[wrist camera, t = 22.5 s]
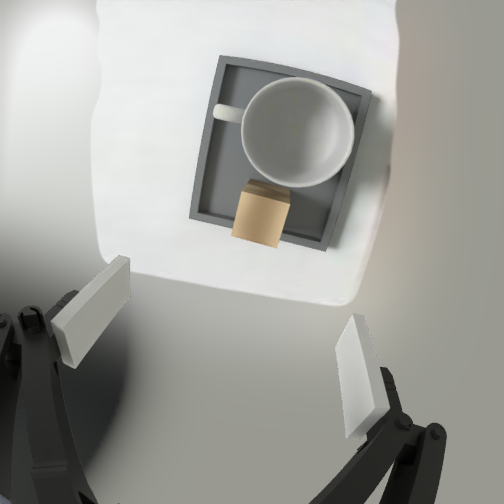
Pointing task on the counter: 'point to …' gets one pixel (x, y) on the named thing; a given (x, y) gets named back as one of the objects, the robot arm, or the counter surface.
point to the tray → (241, 170)
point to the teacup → (294, 131)
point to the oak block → (261, 213)
